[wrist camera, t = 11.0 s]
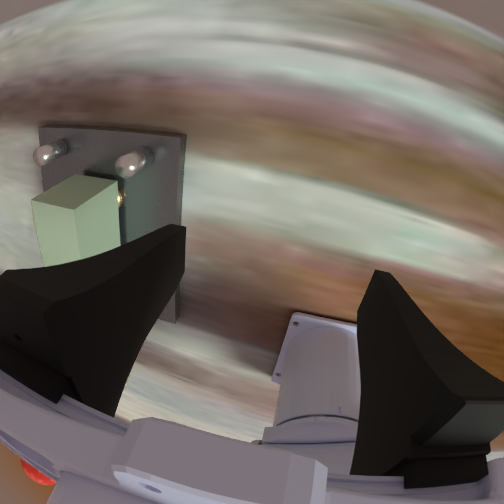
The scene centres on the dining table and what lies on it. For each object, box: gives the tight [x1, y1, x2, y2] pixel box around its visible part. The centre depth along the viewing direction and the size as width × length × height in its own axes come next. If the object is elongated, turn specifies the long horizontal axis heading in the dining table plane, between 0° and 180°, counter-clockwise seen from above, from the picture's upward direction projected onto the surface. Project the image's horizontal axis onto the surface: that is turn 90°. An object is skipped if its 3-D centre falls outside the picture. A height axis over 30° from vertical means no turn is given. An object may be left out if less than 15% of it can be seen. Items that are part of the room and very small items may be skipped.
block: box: [31, 174, 121, 267], centre depth 21 cm, size 9×4×5 cm, turn 171°
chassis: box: [33, 125, 187, 323], centre depth 23 cm, size 16×13×4 cm
